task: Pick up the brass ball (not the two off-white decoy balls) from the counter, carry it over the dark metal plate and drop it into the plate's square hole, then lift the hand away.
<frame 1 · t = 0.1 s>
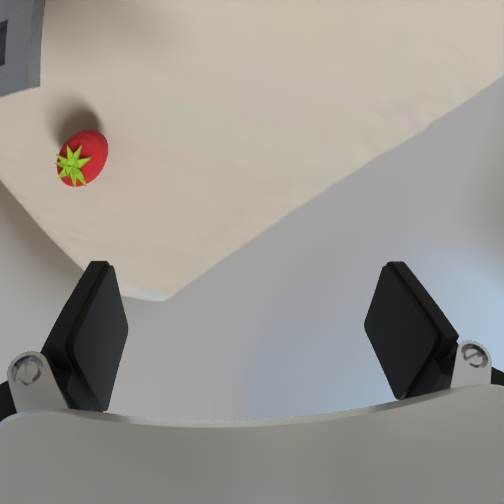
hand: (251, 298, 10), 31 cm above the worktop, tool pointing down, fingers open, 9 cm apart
strawberry: (98, 147, 36), on the worktop
plate: (1, 48, 25), on the worktop
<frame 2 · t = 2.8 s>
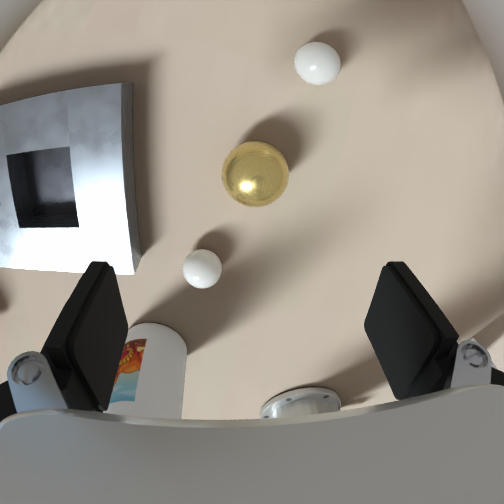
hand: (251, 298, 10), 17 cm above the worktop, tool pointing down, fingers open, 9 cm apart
milk bottle: (155, 342, 35), on the worktop
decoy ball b: (317, 63, 20), point 2 cm above the worktop
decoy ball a: (202, 268, 28), point 2 cm above the worktop
brass ball: (255, 174, 23), point 2 cm above the worktop
plate: (56, 179, 24), on the worktop
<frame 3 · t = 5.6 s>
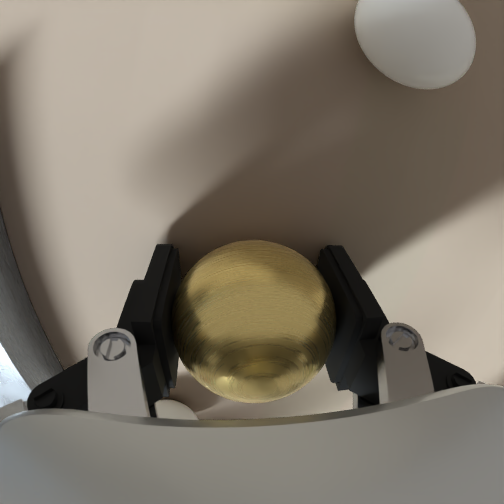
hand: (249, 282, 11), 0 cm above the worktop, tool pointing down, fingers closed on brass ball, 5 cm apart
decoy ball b: (415, 31, 6), point 2 cm above the worktop
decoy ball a: (168, 430, 14), point 2 cm above the worktop
brass ball: (253, 322, 9), point 2 cm above the worktop, touching gripper
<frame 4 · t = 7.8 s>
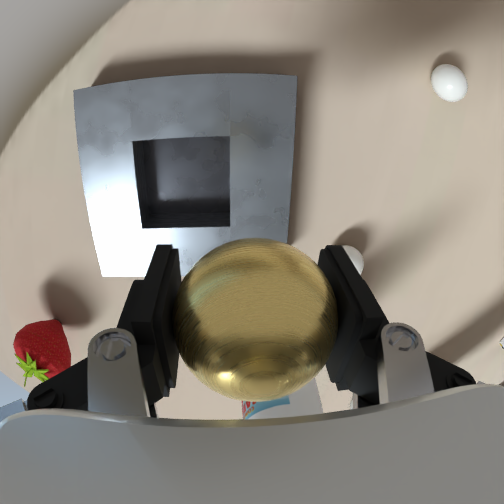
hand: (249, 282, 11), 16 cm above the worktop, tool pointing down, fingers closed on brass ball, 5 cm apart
milk bottle: (271, 343, 36), on the worktop
strawberry: (58, 321, 32), on the worktop
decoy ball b: (449, 82, 20), point 2 cm above the worktop
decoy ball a: (345, 264, 28), point 2 cm above the worktop
brass ball: (255, 320, 9), point 18 cm above the worktop, touching gripper
plate: (187, 173, 25), on the worktop
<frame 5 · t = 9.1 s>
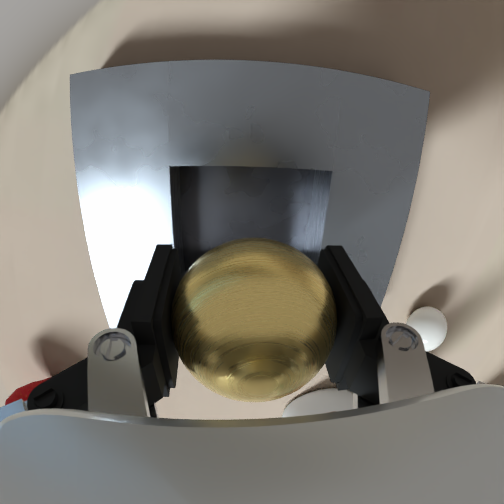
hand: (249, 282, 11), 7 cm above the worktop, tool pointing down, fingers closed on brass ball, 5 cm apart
milk bottle: (319, 405, 28), on the worktop
strawberry: (56, 378, 24), on the worktop
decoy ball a: (426, 329, 21), point 2 cm above the worktop
brass ball: (254, 320, 9), point 9 cm above the worktop, touching gripper
plate: (245, 214, 17), on the worktop
when the fingers open (4 cm above the worktop, at t = 10.2 s): brass ball drops 3 cm, resting on plate.
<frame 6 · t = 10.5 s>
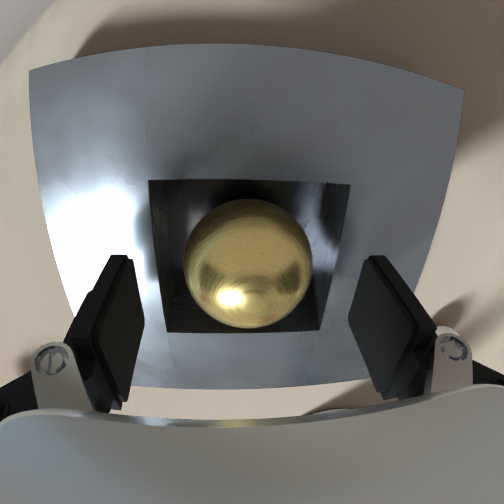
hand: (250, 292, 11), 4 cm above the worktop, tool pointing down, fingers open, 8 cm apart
brass ball: (248, 263, 12), point 3 cm above the worktop, touching plate
plate: (243, 232, 15), on the worktop
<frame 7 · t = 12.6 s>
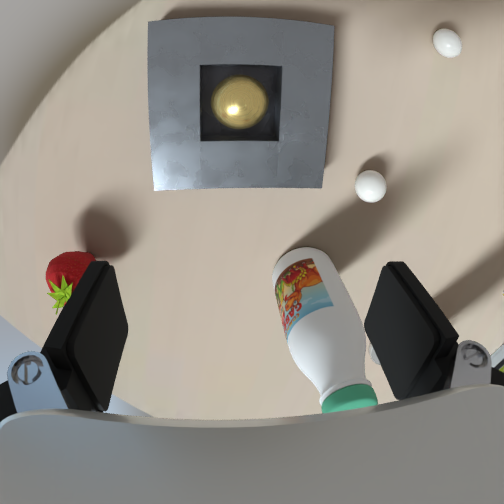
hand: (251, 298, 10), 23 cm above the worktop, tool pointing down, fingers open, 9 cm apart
milk bottle: (301, 270, 39), on the worktop
strawberry: (90, 255, 35), on the worktop
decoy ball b: (447, 43, 23), point 2 cm above the worktop
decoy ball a: (370, 186, 31), point 2 cm above the worktop
brass ball: (239, 101, 25), point 3 cm above the worktop, touching plate
plate: (238, 100, 27), on the worktop
tea box: (494, 360, 63), on the worktop
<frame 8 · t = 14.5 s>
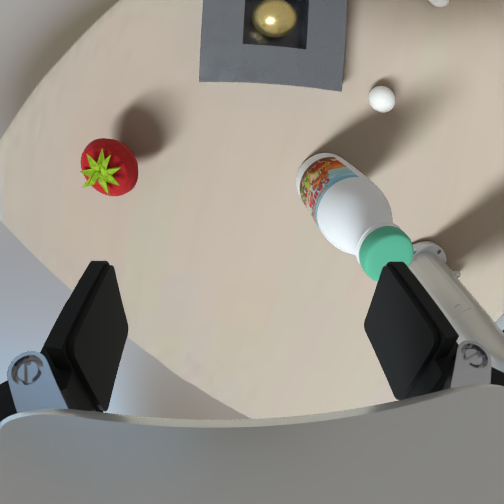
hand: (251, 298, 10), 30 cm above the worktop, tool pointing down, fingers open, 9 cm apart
milk bottle: (322, 179, 40), on the worktop
strawberry: (123, 155, 36), on the worktop
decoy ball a: (381, 99, 33), point 2 cm above the worktop
brass ball: (274, 17, 27), point 3 cm above the worktop, touching plate
plate: (272, 22, 29), on the worktop
tea box: (503, 326, 64), on the worktop
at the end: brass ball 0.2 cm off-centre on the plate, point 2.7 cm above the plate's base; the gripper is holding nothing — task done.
